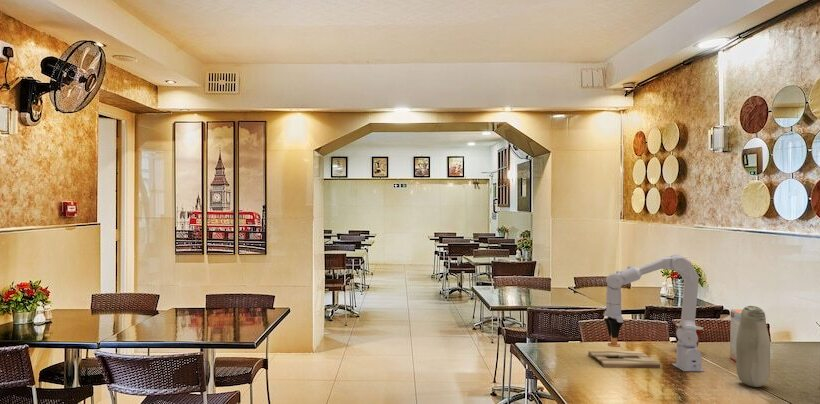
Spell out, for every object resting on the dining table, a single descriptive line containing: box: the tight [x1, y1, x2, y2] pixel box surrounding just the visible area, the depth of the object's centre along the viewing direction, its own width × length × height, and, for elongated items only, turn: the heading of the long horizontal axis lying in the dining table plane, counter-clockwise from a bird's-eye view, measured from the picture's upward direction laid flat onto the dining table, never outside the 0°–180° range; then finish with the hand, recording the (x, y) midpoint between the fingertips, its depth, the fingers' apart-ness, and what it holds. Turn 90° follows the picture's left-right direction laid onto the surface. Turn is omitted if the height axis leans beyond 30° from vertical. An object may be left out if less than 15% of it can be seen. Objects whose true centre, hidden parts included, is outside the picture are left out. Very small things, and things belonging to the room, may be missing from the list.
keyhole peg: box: [607, 335, 621, 348], centre depth 225 cm, size 5×5×9 cm
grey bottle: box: [735, 305, 771, 388], centre depth 196 cm, size 10×10×28 cm
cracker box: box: [729, 308, 743, 363], centre depth 226 cm, size 14×6×21 cm, turn 168°
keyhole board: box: [587, 350, 661, 369], centre depth 225 cm, size 18×22×2 cm
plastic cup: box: [675, 322, 704, 348], centre depth 242 cm, size 11×11×12 cm
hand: (613, 336), depth 225 cm, fingers closed on keyhole peg, 2 cm apart
